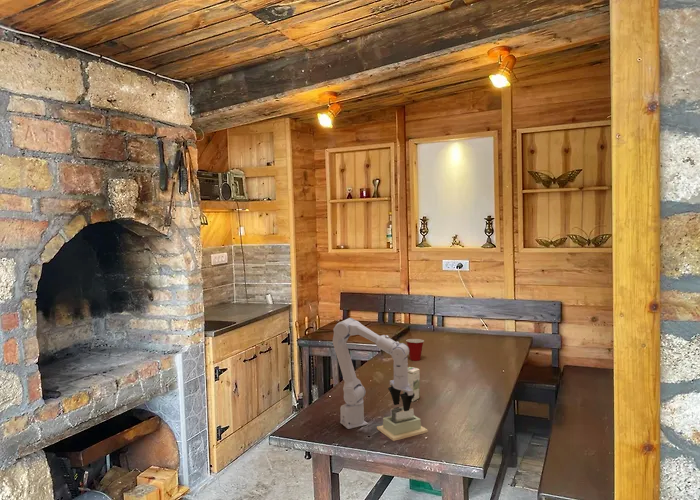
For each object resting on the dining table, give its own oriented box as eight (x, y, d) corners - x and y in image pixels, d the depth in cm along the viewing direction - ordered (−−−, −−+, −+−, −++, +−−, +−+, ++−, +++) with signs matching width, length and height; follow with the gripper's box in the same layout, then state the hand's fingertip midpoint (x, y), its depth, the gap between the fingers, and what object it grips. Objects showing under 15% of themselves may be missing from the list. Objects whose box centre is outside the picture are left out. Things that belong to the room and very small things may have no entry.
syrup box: (409, 396, 250) (409, 366, 249) (420, 398, 247) (419, 368, 245) (403, 399, 246) (402, 369, 245) (413, 402, 242) (413, 371, 241)
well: (393, 441, 202) (393, 428, 201) (376, 429, 213) (376, 417, 213) (427, 432, 209) (427, 420, 208) (409, 421, 220) (409, 409, 220)
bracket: (396, 432, 207) (396, 412, 207) (391, 428, 211) (390, 408, 211) (413, 428, 211) (413, 408, 210) (407, 424, 215) (407, 405, 214)
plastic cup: (427, 358, 314) (426, 338, 313) (421, 362, 304) (420, 342, 303) (410, 356, 319) (409, 336, 318) (403, 361, 309) (403, 341, 308)
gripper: (419, 377, 205) (419, 411, 206) (399, 368, 218) (400, 400, 219) (404, 380, 201) (404, 415, 202) (385, 371, 214) (385, 403, 215)
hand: (401, 407), depth 210 cm, fingers open, 7 cm apart
